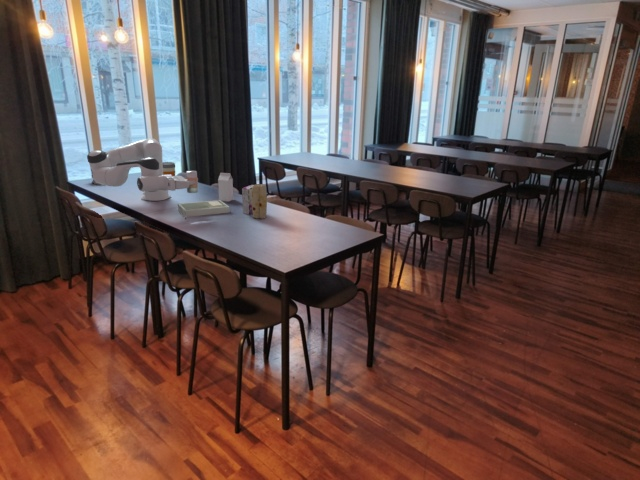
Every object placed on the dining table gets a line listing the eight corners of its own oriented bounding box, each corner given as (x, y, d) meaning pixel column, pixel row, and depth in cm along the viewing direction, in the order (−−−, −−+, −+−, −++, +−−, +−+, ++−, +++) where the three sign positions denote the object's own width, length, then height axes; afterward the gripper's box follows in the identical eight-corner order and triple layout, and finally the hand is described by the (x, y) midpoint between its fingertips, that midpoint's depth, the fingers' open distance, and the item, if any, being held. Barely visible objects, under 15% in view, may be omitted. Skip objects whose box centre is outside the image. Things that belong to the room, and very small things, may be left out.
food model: (262, 215, 253) (262, 182, 247) (269, 218, 249) (269, 184, 242) (249, 218, 247) (248, 184, 240) (256, 220, 242) (255, 186, 236)
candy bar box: (251, 210, 263) (250, 184, 258) (258, 211, 261) (258, 185, 256) (242, 214, 253) (241, 187, 248) (249, 216, 251) (249, 188, 246)
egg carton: (208, 208, 260) (207, 201, 259) (217, 207, 263) (217, 201, 262) (212, 212, 252) (212, 205, 251) (222, 211, 255) (222, 204, 254)
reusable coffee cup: (161, 180, 339) (160, 162, 334) (178, 181, 340) (176, 162, 336) (157, 183, 327) (156, 164, 322) (174, 184, 329) (173, 164, 324)
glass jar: (185, 191, 249) (184, 170, 245) (196, 190, 252) (195, 170, 248) (188, 193, 244) (187, 172, 240) (199, 192, 247) (198, 172, 243)
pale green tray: (178, 211, 256) (177, 203, 254) (220, 207, 268) (220, 200, 267) (185, 218, 241) (185, 211, 240) (229, 214, 254) (229, 206, 252)
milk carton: (229, 203, 279) (228, 174, 273) (218, 202, 280) (217, 173, 274) (233, 200, 285) (232, 172, 279) (223, 199, 287) (222, 171, 281)
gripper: (165, 184, 249) (189, 182, 255) (173, 191, 232) (198, 189, 239) (164, 173, 247) (188, 172, 253) (172, 180, 230) (197, 178, 237)
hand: (193, 180), depth 246 cm, fingers closed on glass jar, 6 cm apart
